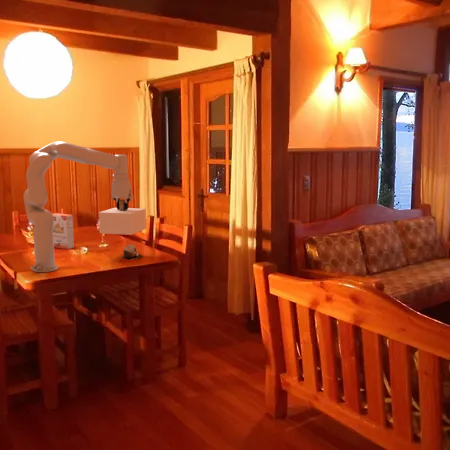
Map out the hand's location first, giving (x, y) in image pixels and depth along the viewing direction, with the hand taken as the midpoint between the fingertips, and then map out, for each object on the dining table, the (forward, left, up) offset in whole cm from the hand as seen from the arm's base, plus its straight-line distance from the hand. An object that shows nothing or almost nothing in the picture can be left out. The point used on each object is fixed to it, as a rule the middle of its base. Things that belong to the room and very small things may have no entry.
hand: (122, 209), depth 293 cm
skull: (+2, -4, -28) cm, 29 cm away
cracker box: (+14, +49, -28) cm, 58 cm away
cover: (0, 0, -12) cm, 12 cm away
